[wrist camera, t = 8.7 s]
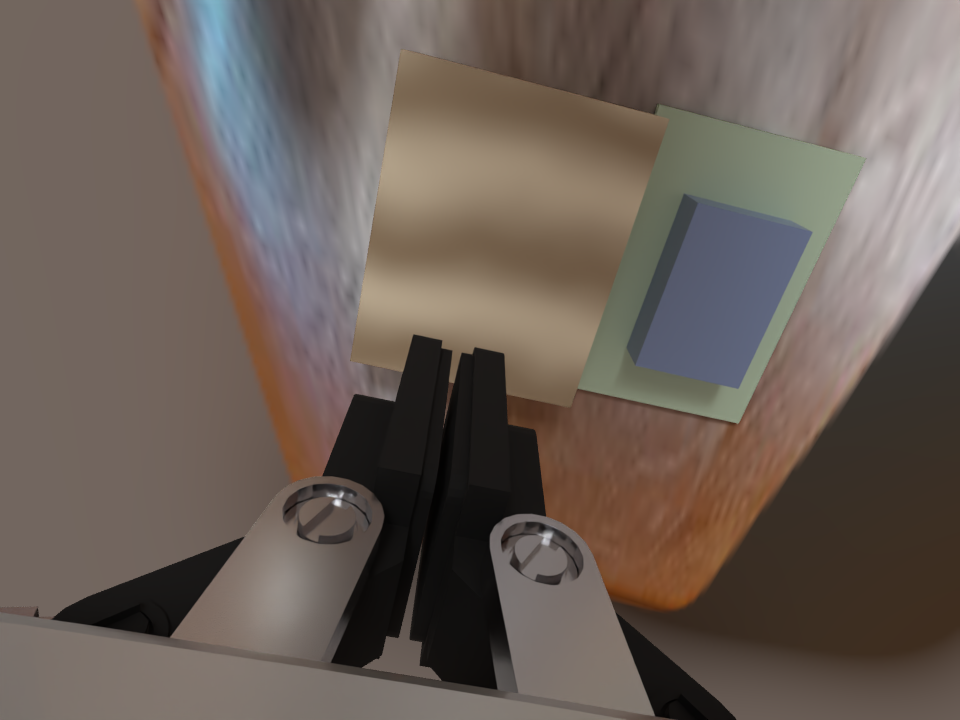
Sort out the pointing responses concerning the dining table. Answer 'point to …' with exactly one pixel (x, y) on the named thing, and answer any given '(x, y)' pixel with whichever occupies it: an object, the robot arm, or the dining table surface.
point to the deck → (500, 222)
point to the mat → (729, 180)
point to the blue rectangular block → (715, 291)
